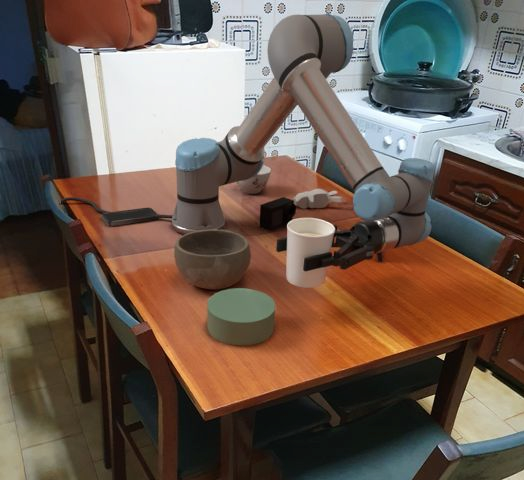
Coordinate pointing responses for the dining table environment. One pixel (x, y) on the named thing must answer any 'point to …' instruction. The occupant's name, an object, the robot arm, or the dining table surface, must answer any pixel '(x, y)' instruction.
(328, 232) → the candle holder
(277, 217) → the digital camera
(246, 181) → the teacup
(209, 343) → the dining table surface
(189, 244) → the bowl
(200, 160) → the robot arm
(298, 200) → the bunny figurine
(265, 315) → the stand
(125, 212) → the phone
